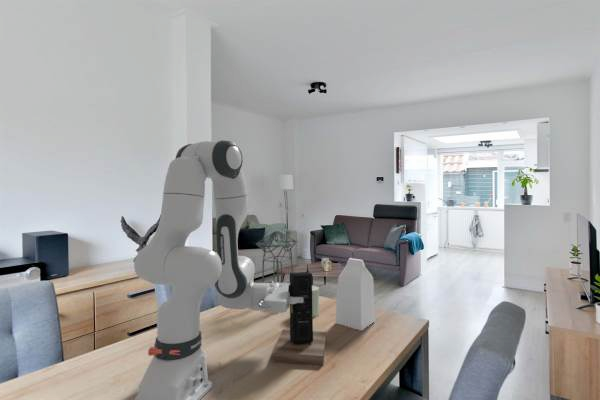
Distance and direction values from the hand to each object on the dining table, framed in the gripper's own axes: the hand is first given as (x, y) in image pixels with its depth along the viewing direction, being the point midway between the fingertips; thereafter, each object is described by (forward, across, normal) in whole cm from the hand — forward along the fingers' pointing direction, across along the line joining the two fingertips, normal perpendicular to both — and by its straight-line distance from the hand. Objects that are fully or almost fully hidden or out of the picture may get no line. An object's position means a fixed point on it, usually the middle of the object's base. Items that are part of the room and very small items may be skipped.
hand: (304, 297), depth 116 cm
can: (-3, +34, +18) cm, 39 cm away
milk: (+17, +27, +19) cm, 37 cm away
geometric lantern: (-19, +45, +18) cm, 52 cm away
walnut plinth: (-1, 0, +18) cm, 18 cm away
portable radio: (-2, 0, +15) cm, 15 cm away
